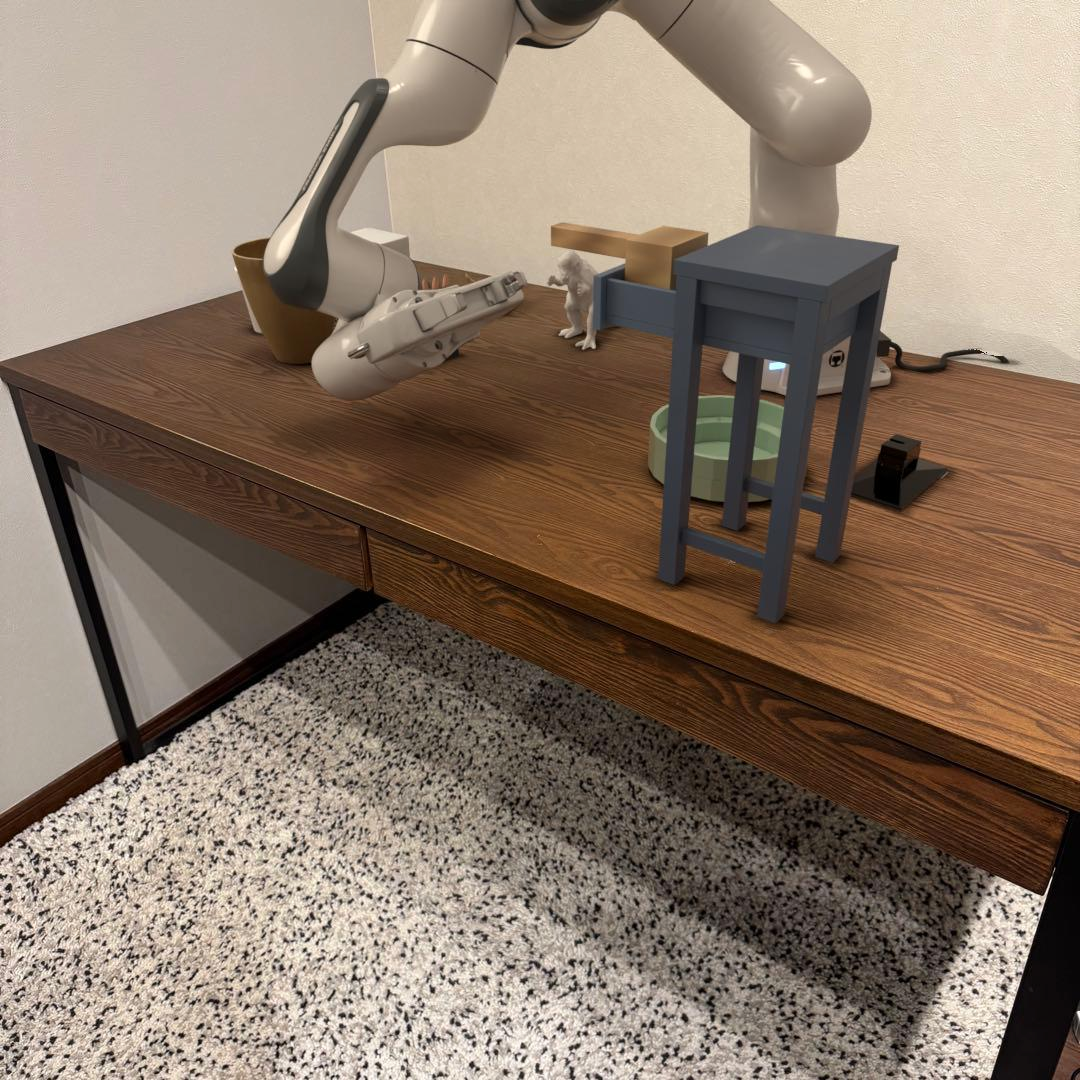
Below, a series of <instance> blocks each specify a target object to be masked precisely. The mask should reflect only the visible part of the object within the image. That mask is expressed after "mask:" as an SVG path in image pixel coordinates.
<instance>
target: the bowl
mask: <svg viewBox="0 0 1080 1080" xmlns="http://www.w3.org/2000/svg"><path fill="white" fill-rule="evenodd" d="M734 397H735V395H726V394H725V395H723V394H716V395H715V394H714V395H699V397H698V410H697V422H696V435H695V448H694V460H693V473H692V486H691V497H694V498H698V499H702V500H706V501H711V502H722V503H724V497H725V487H726V477H727V467H728V457H729V447H730V437H731V427H732V417H733V407H734ZM668 409H669V403H668V404H666V405H665V404H664V405H662V406H661V407H660V408H659V409H658V410H657V411H656V412H654V413H653V414H652V415H651V419H650V423H649V432H648V433H649V434H648V435H649V436H648V450H647V451H648V452H647V454H648V455H647V466H648V469H649V470H650V471H649V472H651V475H652V477H654V478H655V479H656V480H657V481H658V482H660V483H661V484H663V485H664V474H665V458H666V441H667V425H668ZM783 412H784V405H781V404H777V403H774V402H771V401H768V400H765V399H760V402H759V410H758V419H757V428H756V436H755V445H754V454H753V462H752V471H751V477H754V478H757V479H761V480H764V481H767V482H771V483H774V481H775V474H776V466H777V458H778V451H779V443H780V435H781V427H782V420H783ZM811 441H812V437H811V438H810V443H811ZM810 449H811V444H810V445H809V450H810ZM809 454H810V451H809V452H808V456H810V455H809ZM808 462H809V457H808V458H807V463H808ZM807 468H808V464H807V465H806V470H807ZM806 474H807V471H806V472H805V477H806ZM768 500H769V499H768V498H765V497H761V496H758V495H755V494H752V493H749V497H748V503H753V502H764V501H768Z"/></svg>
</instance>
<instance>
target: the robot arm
mask: <svg viewBox="0 0 1080 1080" xmlns="http://www.w3.org/2000/svg"><path fill="white" fill-rule="evenodd" d="M606 12H615V13H618V14H621V15H623V16H625V17H628V18H629V19H631V20H632V21H634V22H636V23H637V24H638V25H639V26H640V27H641V28H642V29H643V30H644V31H645V32H646V33H647V34H648V35H649V36H650V37H651V38H652V39H653V40H654V41H655V42H657V44H658V45H660V46H661V47H662V48H663V49H664V50H665V51H666V52H667V53H668V54H669V55H671V56H672V57H673V58H674V59H675V60H676V61H677V62H678V63H679V64H680V65H682V67H684V68H685V69H686V70H687V71H688V72H689V73H690V74H691V75H693V77H694V78H696V79H697V81H699V82H700V83H701V84H702V85H704V87H706V88H707V89H708V90H709V91H710V92H711V93H713V94H714V95H715V96H716V98H718V99H719V100H720V101H721V102H723V103H724V104H725V105H726V106H727V107H728V108H729V109H731V110H732V111H733V112H734V113H735V114H736V115H737V116H739V117H740V118H741V119H742V120H743V121H744V122H745V123H746V124H748V125H749V126H750V127H749V195H750V197H749V199H750V200H749V201H750V202H749V218H748V228H747V229H749V228H752V227H754V226H757V225H760V226H767V227H774V228H781V229H788V230H795V231H802V232H809V233H816V234H823V235H831V236H837V231H838V224H839V218H840V205H839V199H838V185H837V165H839V164H840V163H843V162H844V161H846V160H848V159H849V158H851V156H853V155H854V154H855V153H856V152H857V151H858V150H859V149H860V148H861V146H863V144H864V142H865V140H866V139H867V136H868V134H869V131H870V130H871V129H870V128H871V125H872V118H873V114H872V113H873V112H872V111H873V110H872V103H871V100H870V98H869V95H868V93H867V89H865V86H864V85H863V83H862V82H861V81H860V79H859V78H858V77H857V76H856V75H855V74H854V73H853V72H852V71H851V70H850V69H849V68H848V67H847V66H846V65H844V64H843V62H842V61H840V60H839V59H838V58H837V57H835V56H834V55H833V54H832V53H831V52H830V51H829V50H828V49H827V48H825V46H824V45H822V44H821V43H820V42H819V41H818V40H817V39H815V38H814V37H813V36H812V35H811V34H810V33H809V32H808V31H806V30H805V29H804V28H803V27H802V26H800V25H799V24H798V23H797V22H796V21H795V20H793V19H792V18H791V17H790V16H789V15H787V14H786V13H785V12H784V11H782V10H781V9H780V8H779V7H778V6H777V5H776V4H775V3H773V2H772V1H771V0H421V3H420V4H419V7H418V9H417V11H416V14H415V16H414V18H413V20H412V23H411V26H410V28H409V31H408V34H407V36H406V39H405V42H404V45H403V47H402V50H401V51H400V54H399V56H398V57H397V58H396V60H395V62H394V63H393V65H392V66H391V67H390V68H389V70H388V71H386V73H384V74H383V75H382V76H381V77H376V78H369V79H367V80H365V81H364V82H363V83H362V84H361V85H360V86H359V87H358V88H357V89H356V91H355V92H354V93H353V95H352V96H351V97H350V99H349V101H348V102H347V104H346V105H345V107H344V108H343V111H342V112H341V113H340V116H339V117H338V119H337V120H336V122H335V124H334V126H333V128H332V130H331V131H330V133H329V134H328V135H329V136H327V139H326V140H325V143H324V145H323V147H322V149H321V150H320V152H319V154H318V156H317V158H316V160H315V162H314V163H313V165H312V167H311V169H310V171H309V173H308V175H307V177H306V178H305V181H304V183H303V184H302V186H301V188H300V190H299V192H298V194H297V195H296V197H295V199H294V201H293V202H292V204H291V206H290V207H289V209H288V210H287V212H286V213H285V214H284V216H283V217H282V218H281V220H280V221H279V223H278V224H277V226H276V227H275V229H274V230H273V232H272V233H271V235H270V236H269V237H270V239H269V241H268V244H267V246H266V249H265V252H264V256H263V271H264V274H265V277H266V279H267V281H268V283H269V285H270V287H271V289H272V290H273V292H274V293H275V295H276V296H277V297H278V299H279V300H280V301H281V302H282V303H283V304H285V305H290V306H294V307H298V308H302V309H307V310H311V311H318V312H321V313H324V314H327V315H330V316H333V317H335V319H338V320H337V323H336V325H335V327H334V328H333V332H332V334H331V336H330V337H328V338H327V339H326V340H325V341H324V342H323V343H322V344H321V345H320V346H319V347H318V348H317V350H316V351H315V353H314V355H313V357H312V362H311V370H312V373H313V377H314V378H315V380H316V382H317V384H319V386H320V387H321V388H322V389H323V390H324V391H325V392H326V393H328V394H329V395H330V396H332V397H334V398H336V399H339V400H342V401H348V402H353V401H355V402H356V401H361V400H366V399H370V398H372V397H375V396H378V395H380V394H382V393H384V392H387V391H389V390H391V389H393V388H394V387H396V386H397V385H398V384H399V383H400V382H402V381H403V382H404V381H409V380H411V379H414V378H416V377H417V376H420V375H422V374H424V373H426V372H428V371H430V370H433V369H434V368H437V367H438V366H440V365H441V364H442V363H444V362H445V361H446V360H445V359H446V358H448V357H449V356H450V355H451V354H452V353H453V352H454V351H455V350H456V349H460V348H462V347H463V346H465V345H466V344H468V343H470V342H473V341H474V340H475V339H477V338H479V337H480V336H481V332H480V331H482V330H484V329H485V328H486V327H488V326H489V325H491V324H493V323H494V322H496V321H497V320H499V319H500V318H502V317H504V316H505V315H506V314H508V313H509V312H511V311H512V310H514V309H515V308H517V307H518V306H519V305H520V304H521V303H522V302H523V301H524V298H525V295H524V292H523V289H525V288H527V286H528V280H527V277H526V275H525V273H524V271H522V270H520V269H519V270H515V271H512V270H506V271H503V272H499V273H497V274H493V275H491V276H488V277H485V278H483V279H480V280H477V281H475V282H474V283H471V284H470V283H469V284H465V285H461V286H460V285H459V284H454V285H450V286H448V287H444V288H442V287H439V288H440V289H434V290H432V289H429V290H423V286H422V282H423V280H422V278H421V274H420V271H419V269H418V267H417V265H416V263H415V262H414V260H413V259H412V258H411V256H410V257H408V256H405V255H403V254H401V253H399V252H397V251H395V250H392V249H390V248H388V247H385V246H383V245H381V244H378V243H376V242H371V241H369V240H366V239H364V238H361V237H359V236H357V235H354V234H352V233H350V231H347V230H345V229H343V228H340V227H339V224H338V223H339V219H340V217H341V215H342V213H343V211H344V209H345V207H346V206H347V204H348V202H349V200H350V198H351V196H352V194H353V193H354V190H355V189H356V187H357V185H358V183H359V181H360V179H361V178H362V175H363V174H364V172H365V171H366V168H367V167H368V165H369V163H370V162H371V160H372V159H373V158H374V157H375V156H376V155H377V154H379V153H380V152H382V151H383V150H386V149H389V148H392V147H399V146H419V147H422V146H423V147H444V146H449V145H453V144H457V143H460V142H462V141H463V140H465V139H467V138H469V137H470V136H472V135H473V134H474V133H475V132H476V131H477V130H478V129H479V128H480V126H481V125H482V123H483V121H484V119H485V118H486V116H487V114H488V111H489V109H490V108H491V105H492V102H493V100H494V96H495V93H496V91H497V88H498V85H499V82H500V80H501V76H502V73H503V71H504V68H505V65H506V62H507V61H508V58H509V56H510V54H511V52H512V50H513V48H514V47H515V45H516V46H523V47H531V48H536V49H542V50H543V49H544V50H558V49H561V48H565V47H567V46H569V45H571V44H573V43H574V42H576V41H577V40H578V39H580V38H581V37H583V36H584V35H585V34H587V33H588V32H590V30H592V29H593V28H594V27H595V26H596V25H597V23H598V22H599V21H600V19H601V17H602V16H603V15H605V13H606ZM850 339H851V336H850V337H848V338H847V339H845V340H844V341H842V342H841V343H839V344H838V345H836V346H835V347H834V348H832V349H831V350H829V351H828V352H826V353H825V354H823V357H822V364H821V370H820V377H819V384H818V391H817V396H823V395H829V394H830V395H831V394H836V393H842V388H843V382H844V376H845V369H846V363H847V357H848V351H849V345H850ZM891 348H892V349H893V350H894V351H895V353H896V354H895V358H894V364H896V366H897V367H898V368H899V369H901V370H907V371H912V372H915V373H916V372H918V373H926V372H927V373H928V372H936V371H941V370H943V369H944V368H946V366H947V364H948V363H947V361H948V360H947V359H948V358H949V359H950V358H955V357H960V356H961V357H962V356H968V355H982V354H981V353H984V352H982V351H980V350H977V349H978V348H967V349H968V350H966V349H960V350H953V351H947V352H945V353H943V354H942V355H941V357H940V363H938V364H932V365H924V366H913V365H909V364H906V363H904V362H903V361H902V356H903V349H902V347H901V346H900V345H899V344H898V343H896V342H894V341H892V339H891V338H890V337H889V336H887V335H886V334H885V333H884V332H883V331H881V330H880V335H879V340H878V346H877V351H876V357H875V363H874V368H873V374H872V380H871V385H870V388H877V387H882V386H883V387H884V386H888V385H890V383H891V380H892V371H891V370H890V368H889V367H888V365H887V364H886V363H885V362H884V361H883V360H882V359H880V358H884V357H885V358H886V357H889V355H890V350H891ZM970 349H971V350H970ZM974 349H976V350H974ZM986 353H987V352H986ZM983 355H986V356H988V355H987V354H985V353H984V354H983ZM989 356H990V357H994V358H995V359H997V360H999V361H1000V362H1001V363H1002V364H1008V365H1009V364H1010V361H1009V360H1008V358H1007V357H1005V355H1003V356H994V355H989ZM738 357H739V353H736V352H731V351H728V353H727V356H726V359H725V360H724V363H723V365H722V372H723V374H724V375H725V376H726V378H728V379H729V380H731V381H733V382H735V383H736V377H737V367H738ZM789 366H790V364H785V363H781V362H776V361H772V360H767V359H764V367H763V375H762V384H761V391H768V392H774V393H776V394H779V395H782V396H785V397H786V389H787V381H788V373H789Z"/></svg>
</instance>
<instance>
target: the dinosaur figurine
mask: <svg viewBox="0 0 1080 1080" xmlns="http://www.w3.org/2000/svg"><path fill="white" fill-rule="evenodd" d="M556 262H557V268H558V270H559V273H558V274H559V276H558V278H557V277H556V276H555V274H551V275H549V277H548V278H547V281H546V284H547V287H548V288H549V287H552V285H555V286H557V287H564V286H567V290H568V291H567V294H566V296H565V299H566V301H565V303H564V305H563V306H564V307H563V308H564V310H565V312H566V318H567V320H568V321H569V323H570V324H571V327H570V328H564V329H561V330H560V333H559V334H558V337H564V339H569V338H573V337H575V336H578V335H581V334H582V333H583V331H584V330H583V329H584V323H583V314H582V312H584V313H587V314H588V315H587V317H586V329H587V331H586V337H585V338H584V339H583V340H581V341H577V342H576V343H575V345H574V346H575V347H581V350H583V351H584V350H586V349H588V348H591V349H592V350H593V349H594V350H595V349H596V348H597V345H596V335H597V330H596V329H593V288H594V275H597V274H599V272H598V271H597V270H596V269H595V266H593V265H592V264H590V263H589V262H588V260H586V259H584V258H582V257H580V255H579V254H578V253H577V252H576V251H575V250H572V249H567V250H565V252H563V253H562V254H561V255H560V256H559V258H558V259H557V261H556ZM610 327H616V326H615V325H611V326H610Z"/></svg>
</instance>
